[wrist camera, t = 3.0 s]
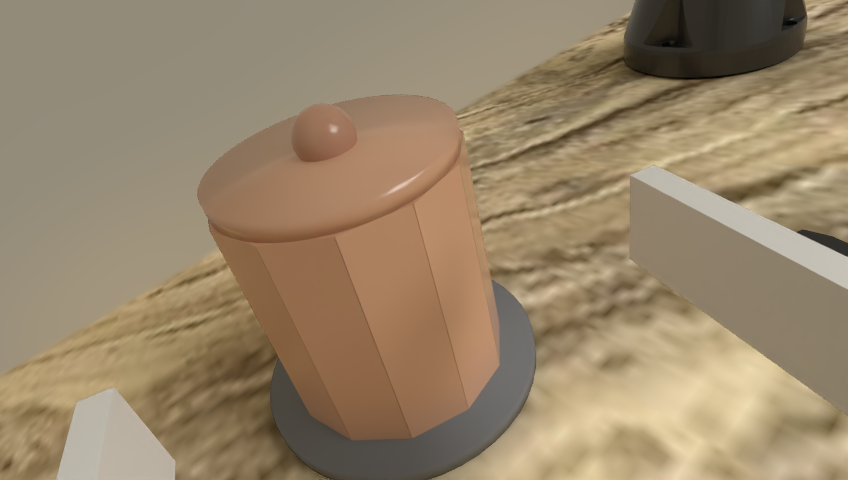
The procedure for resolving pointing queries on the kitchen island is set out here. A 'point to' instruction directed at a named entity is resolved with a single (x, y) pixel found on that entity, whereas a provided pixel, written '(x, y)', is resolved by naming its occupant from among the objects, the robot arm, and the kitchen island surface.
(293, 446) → the mat
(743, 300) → the robot arm
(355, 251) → the lidded canister
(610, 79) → the kitchen island surface
